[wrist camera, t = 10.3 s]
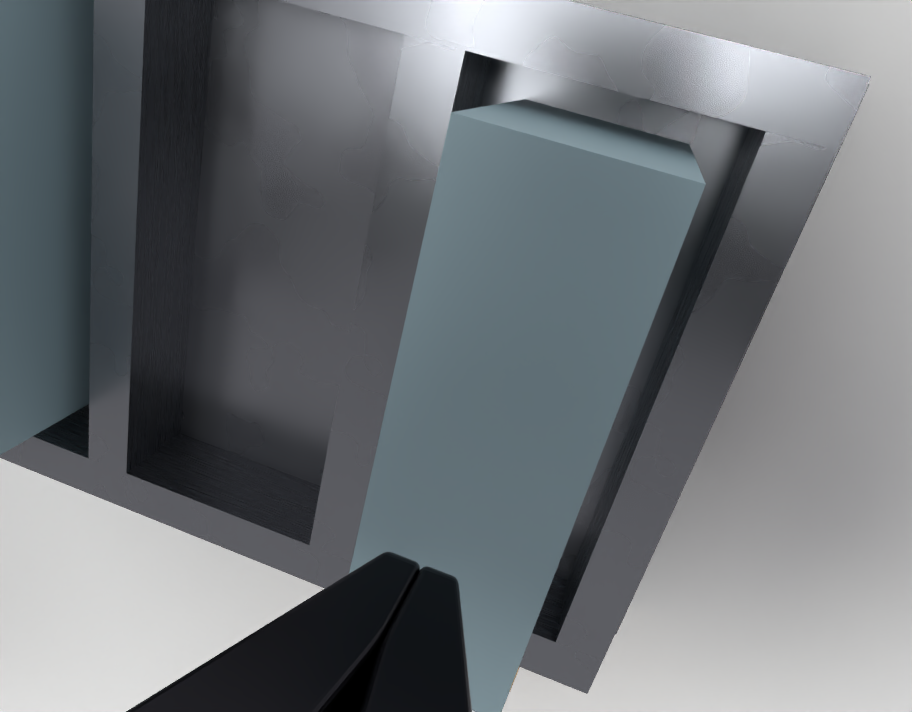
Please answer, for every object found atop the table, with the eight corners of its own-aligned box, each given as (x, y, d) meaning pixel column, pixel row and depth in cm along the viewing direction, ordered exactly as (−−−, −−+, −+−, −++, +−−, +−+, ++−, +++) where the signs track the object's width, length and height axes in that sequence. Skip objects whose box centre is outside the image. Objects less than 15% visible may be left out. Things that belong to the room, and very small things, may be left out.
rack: (607, 628, 18) (598, 728, 15) (-17, 387, 20) (-120, 434, 18) (853, 84, 12) (909, 85, 9) (-50, -146, 15) (-208, -195, 12)
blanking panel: (543, 539, 16) (497, 720, 12) (421, 494, 16) (331, 652, 12) (689, 143, 12) (706, 183, 8) (525, 99, 13) (450, 112, 8)
